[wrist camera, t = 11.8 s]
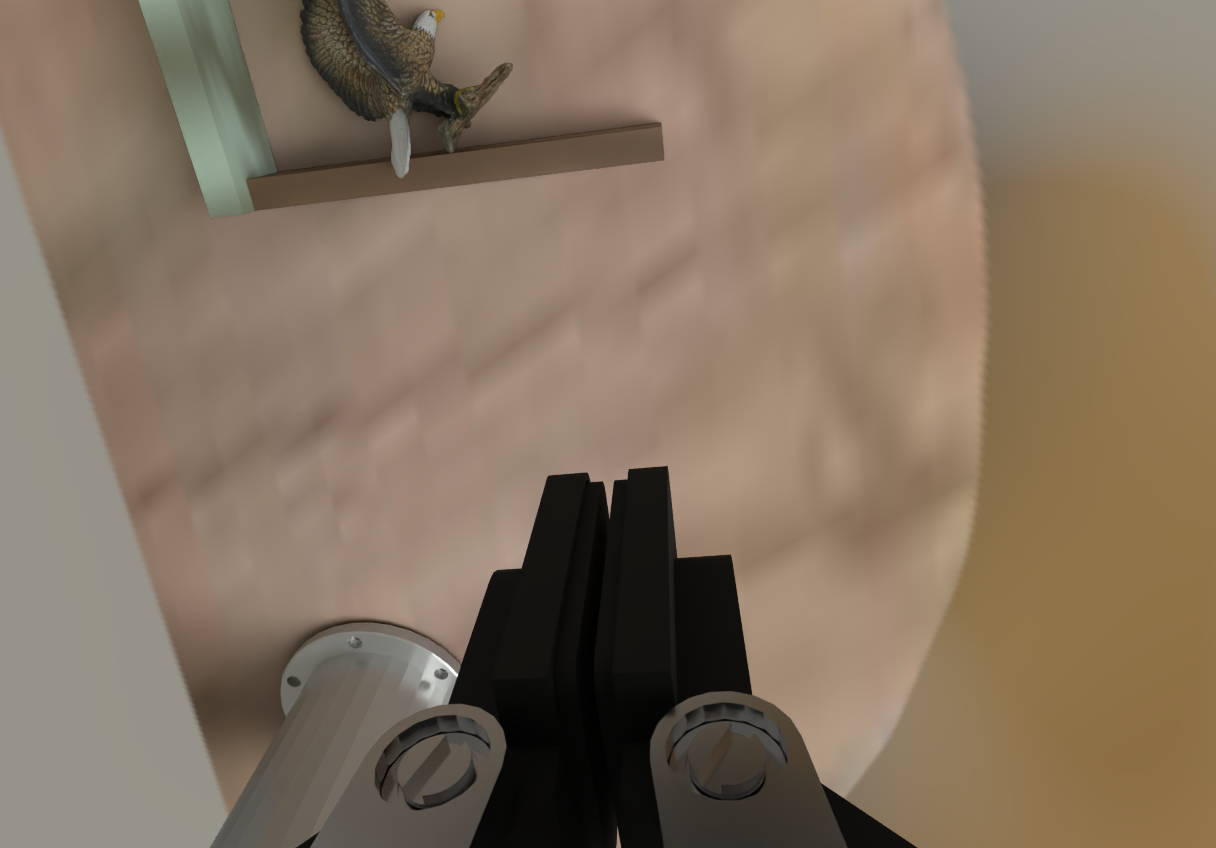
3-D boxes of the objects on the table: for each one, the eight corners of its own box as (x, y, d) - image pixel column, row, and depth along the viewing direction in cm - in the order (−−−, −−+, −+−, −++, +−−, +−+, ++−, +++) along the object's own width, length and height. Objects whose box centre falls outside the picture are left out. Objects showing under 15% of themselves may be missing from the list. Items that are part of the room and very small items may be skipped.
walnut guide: (663, 153, 34) (664, 162, 30) (255, 204, 36) (210, 218, 32) (635, -175, 29) (631, -210, 25) (165, -94, 31) (99, -117, 28)
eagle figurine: (549, 15, 31) (353, -165, 27) (485, 114, 27) (248, -81, 24) (466, 128, 37) (295, -9, 33) (404, 223, 33) (203, 79, 29)
